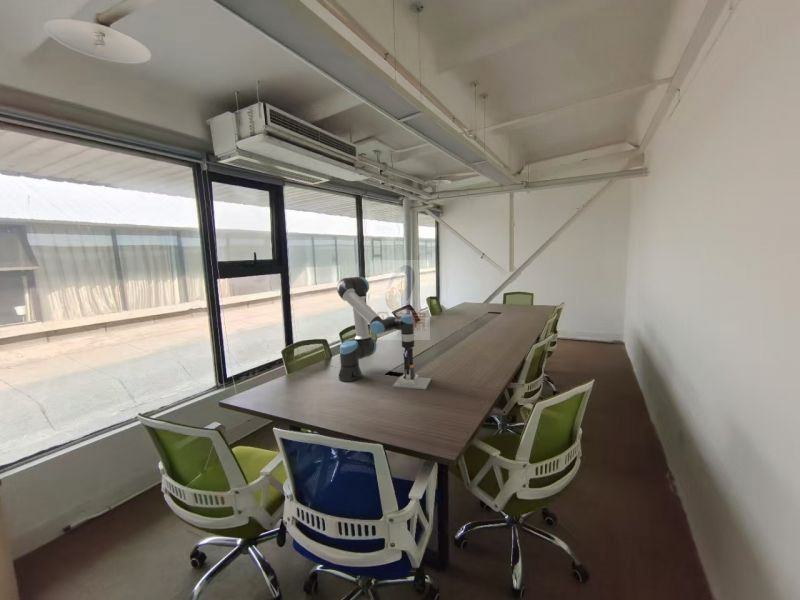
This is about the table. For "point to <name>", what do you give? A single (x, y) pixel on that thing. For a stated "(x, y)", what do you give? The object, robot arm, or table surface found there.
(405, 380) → the socket plate
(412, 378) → the plug
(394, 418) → the table surface
